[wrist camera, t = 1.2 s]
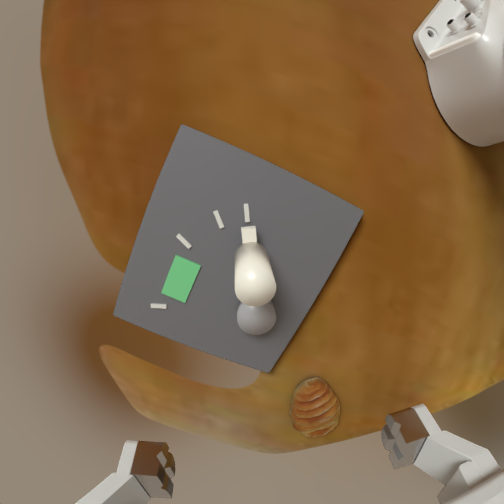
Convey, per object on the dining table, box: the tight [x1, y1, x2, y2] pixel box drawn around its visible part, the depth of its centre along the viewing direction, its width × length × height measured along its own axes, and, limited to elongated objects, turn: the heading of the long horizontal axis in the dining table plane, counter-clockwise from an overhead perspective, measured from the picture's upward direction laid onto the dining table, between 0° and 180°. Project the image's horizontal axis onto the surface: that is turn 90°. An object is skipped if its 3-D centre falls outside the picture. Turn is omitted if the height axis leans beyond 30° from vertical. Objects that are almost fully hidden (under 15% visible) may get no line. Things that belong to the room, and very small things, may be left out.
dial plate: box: [113, 124, 364, 373], centre depth 30 cm, size 20×18×2 cm
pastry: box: [289, 377, 341, 438], centre depth 36 cm, size 9×7×4 cm
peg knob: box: [235, 226, 276, 335], centre depth 26 cm, size 10×4×7 cm, turn 5°
